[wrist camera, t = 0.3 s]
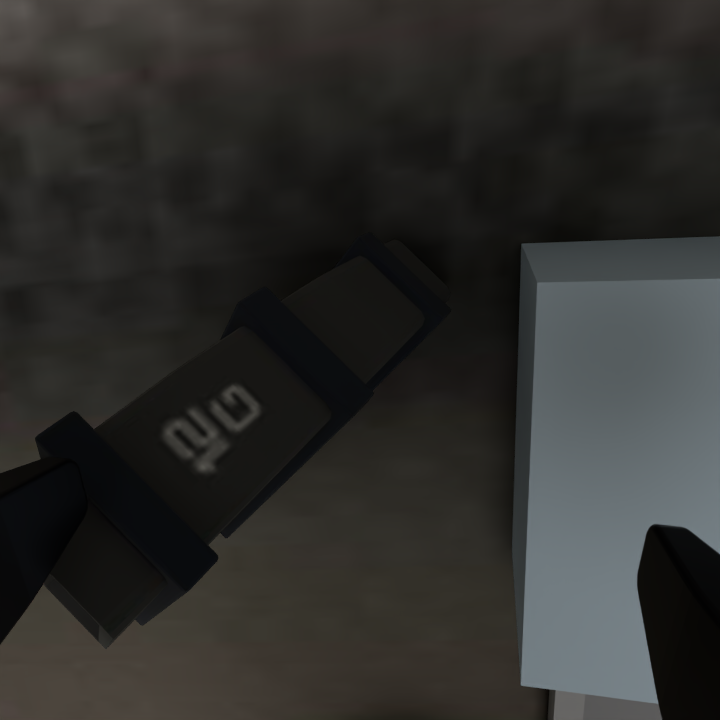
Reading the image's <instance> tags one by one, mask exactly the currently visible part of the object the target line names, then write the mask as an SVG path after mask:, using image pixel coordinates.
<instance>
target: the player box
mask: <svg viewBox="0 0 720 720" xmlns="http://www.w3.org/2000/svg"><path fill="white" fill-rule="evenodd" d="M653 524H662V525H671V526H680V527H684V528H687V529H688V530H690V531H691V532H693V533H694V534H695V535H696V536H698V537H699V538H700V539H702V540H703V541H704V542H705V543H707V544H708V545H709V546H710V547H712V548H713V549H714V550H716V551H717V552H718V553H719V554H720V236H716V237H689V238H661V239H634V240H607V241H579V242H552V243H524V244H521V273H520V305H519V338H518V371H517V404H516V437H515V469H514V502H513V535H512V559H513V574H514V589H515V604H516V620H517V635H518V650H519V665H520V680H521V686H528V687H536V688H543V689H551V690H558V691H566V692H573V693H581V694H588V695H596V696H603V697H611V698H618V699H626V700H633V701H641V702H648V703H656V704H658V700H657V695H656V690H655V684H654V679H653V673H652V668H651V662H650V657H649V651H648V646H647V640H646V635H645V629H644V624H643V618H642V613H641V607H640V602H639V596H638V590H637V573H638V568H639V563H640V559H641V555H642V550H643V546H644V542H645V537H646V533H647V531H648V529H649V527H650V526H651V525H653Z"/></svg>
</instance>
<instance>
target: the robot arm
mask: <svg viewBox="0 0 720 720" xmlns="http://www.w3.org/2000/svg"><path fill="white" fill-rule="evenodd" d="M87 507H88V501H87V496H86V492H85V488H84V485H83V481H82V477H81V473H80V469H79V466H78V464H77V463H76V462H75V461H74V460H72V459H68V458H59V457H47V458H43V459H40V460H38V461H35V462H32V463H29V464H26V465H23V466H20V467H17V468H15V469H12V470H9V471H6V472H3V473H0V644H1V643H2V642H3V640H4V639H5V638H6V636H7V635H8V634H9V632H10V631H11V630H12V628H13V627H14V626H15V624H16V623H17V621H18V620H19V619H20V617H21V616H22V615H23V613H24V612H25V610H26V609H27V608H28V606H29V605H30V603H31V602H32V601H33V599H34V597H35V596H36V594H37V593H38V591H39V590H40V588H41V587H42V585H43V583H44V582H45V580H46V579H47V577H48V575H49V574H50V572H51V571H52V569H53V567H54V566H55V564H56V562H57V561H58V559H59V558H60V556H61V554H62V553H63V551H64V550H65V548H66V546H67V545H68V543H69V541H70V540H71V538H72V537H73V535H74V533H75V532H76V530H77V529H78V527H79V525H80V524H81V522H82V521H83V519H84V517H85V515H86V512H87ZM637 590H638V596H639V602H640V607H641V613H642V618H643V624H644V629H645V635H646V640H647V646H648V651H649V657H650V662H651V668H652V673H653V679H654V684H655V690H656V695H657V700H658V704H659V709H660V713H661V717H662V720H720V554H719V553H718V552H717V551H716V550H714V549H713V548H712V547H710V546H709V545H708V544H707V543H705V542H704V541H703V540H702V539H700V538H699V537H698V536H696V535H695V534H694V533H693V532H691V531H690V530H688V529H687V528H684V527H680V526H671V525H662V524H653V525H651V526H650V527H649V529H648V531H647V533H646V537H645V542H644V546H643V550H642V555H641V559H640V563H639V568H638V573H637Z"/></svg>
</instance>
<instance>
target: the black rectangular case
mask: <svg viewBox="0 0 720 720" xmlns="http://www.w3.org/2000/svg"><path fill="white" fill-rule="evenodd" d="M450 294H451V293H450V291H449V288H448V286H446V285H445V284H444V283H443V282H442V281H441V280H440V279H439V278H438V277H437V276H436V275H435V274H434V273H433V272H432V271H431V270H430V269H429V268H428V267H427V266H426V265H425V264H424V263H423V262H422V261H420V260H419V259H418V258H417V257H416V256H415V255H414V254H413V253H412V252H411V251H410V250H409V249H408V248H407V247H406V246H405V245H404V244H403V243H402V242H401V241H398V240H396V239H393V240H391V241H389V242H387V243H385V244H383V243H382V242H381V241H380V240H378V239H377V238H376V237H375V236H374V235H373V234H372V233H371V232H369V233H366V234H364V235H361V236H359V237H357V238H356V240H355V241H354V242H353V244H352V245H351V246H350V248H349V249H348V250H347V252H346V253H345V254H344V256H343V257H342V258H341V260H340V261H339V262H338V264H337V265H336V266H335V268H334V269H333V270H331V271H329V272H327V273H325V274H323V275H322V276H320V277H318V278H316V279H315V280H313V281H311V282H310V283H308V284H307V285H305V286H303V287H302V288H300V289H299V290H297V291H296V292H294V293H292V294H291V295H289V296H288V297H286V298H284V299H283V300H281V301H280V300H279V299H278V298H277V297H276V296H275V295H274V294H273V293H272V292H271V291H270V290H269V289H268V288H267V287H263V288H261V289H259V290H258V291H256V292H254V293H253V294H251V295H250V296H248V297H246V298H245V299H243V300H241V301H240V302H238V304H237V306H236V308H235V310H234V312H233V314H232V316H231V319H230V321H229V323H228V325H227V327H226V329H225V331H224V333H223V335H222V337H221V339H220V341H219V342H217V343H216V344H214V345H212V346H211V347H209V348H208V349H206V350H205V351H203V352H202V353H200V354H199V355H197V356H196V357H194V358H193V359H191V360H190V361H188V362H187V363H185V364H184V365H182V366H181V367H179V368H177V369H176V370H174V371H173V372H171V373H170V374H169V375H167V376H166V377H165V378H163V379H162V380H160V381H159V382H158V383H156V384H155V385H154V386H152V387H151V388H150V389H148V390H147V391H146V392H144V393H143V394H141V395H140V396H139V397H137V398H136V399H135V400H133V401H132V402H131V403H129V404H128V405H126V406H125V407H124V408H122V409H121V410H120V411H118V412H117V413H116V414H114V415H113V416H111V417H110V418H109V419H107V420H106V421H105V422H103V423H102V424H101V425H99V426H98V427H96V428H95V429H93V428H92V427H91V426H90V425H89V424H88V423H87V422H86V421H85V420H84V419H83V418H82V417H81V416H80V415H79V414H78V413H77V412H74V411H73V412H70V413H69V414H67V415H66V416H65V417H63V418H62V419H60V420H59V421H57V422H56V423H54V424H53V425H52V426H50V427H49V428H47V429H46V430H44V431H43V432H42V433H40V434H39V435H37V436H36V438H35V440H36V444H37V447H38V451H39V454H40V458H41V459H43V458H47V457H59V458H68V459H72V460H74V461H75V462H76V463H77V464H78V466H79V469H80V473H81V477H82V481H83V485H84V488H85V492H86V496H87V501H88V507H87V512H86V515H85V517H84V519H83V521H82V522H81V524H80V525H79V527H78V529H77V530H76V532H75V533H74V535H73V537H72V538H71V540H70V541H69V543H68V545H67V546H66V548H65V550H64V551H63V553H62V554H61V556H60V558H59V559H58V561H57V562H56V564H55V566H54V567H53V569H52V571H51V572H50V574H49V575H48V577H47V579H46V580H45V582H44V583H43V585H44V586H45V587H46V588H47V589H48V590H49V591H50V592H51V593H52V594H53V595H54V596H55V597H56V598H57V599H58V600H59V601H60V602H61V603H62V604H63V605H64V606H65V607H66V608H67V610H68V611H69V612H70V613H71V614H72V615H73V616H74V617H75V618H76V619H77V620H78V621H79V622H80V623H81V624H82V625H83V626H84V627H85V628H86V629H87V630H88V631H89V632H90V633H91V634H92V635H93V636H94V637H95V639H96V640H97V641H98V642H99V643H100V644H101V645H102V646H103V647H104V648H105V649H107V648H108V647H109V646H110V645H111V643H112V642H113V641H114V640H115V639H116V638H117V637H118V636H119V635H120V634H121V633H122V632H123V631H124V630H125V629H126V628H127V627H128V626H129V625H130V624H131V623H132V622H133V621H134V620H136V621H137V622H138V623H139V624H140V625H144V624H146V623H147V622H148V621H150V620H151V619H152V618H154V617H155V616H156V615H158V614H159V613H160V612H162V611H163V610H164V609H166V608H167V607H168V606H169V605H171V604H172V603H173V602H175V601H176V600H177V599H179V598H180V597H181V596H183V595H184V594H185V593H187V592H188V591H189V590H190V589H191V588H192V587H193V586H194V585H195V584H196V583H197V582H198V581H199V580H200V579H201V578H202V577H203V575H204V574H205V573H206V572H207V571H208V570H209V569H210V568H211V567H212V566H213V565H214V564H215V563H216V562H217V560H218V555H217V554H216V553H215V552H214V551H213V550H212V549H211V548H210V547H209V546H208V545H209V544H210V543H211V542H212V541H213V540H214V539H215V537H216V536H217V535H218V534H219V533H221V534H222V535H223V536H224V537H225V538H228V537H229V536H230V535H231V534H232V533H233V532H234V531H235V530H236V529H237V528H238V527H239V526H240V525H241V524H243V523H244V522H245V521H246V520H247V519H248V518H249V517H250V516H251V515H252V514H253V513H254V512H255V511H256V510H257V509H258V508H259V507H260V506H261V505H262V504H263V503H264V502H265V501H266V500H267V499H268V498H269V497H270V496H272V495H273V494H274V493H275V492H276V491H277V490H278V489H279V488H280V487H281V486H282V485H283V484H284V483H285V482H286V481H287V480H288V479H289V478H290V477H291V476H292V475H293V474H294V473H295V472H296V471H297V470H298V469H300V468H301V467H302V466H303V465H304V464H305V463H306V462H307V461H308V460H309V459H310V458H311V457H312V456H313V455H314V454H315V453H316V452H317V451H318V450H319V449H320V448H321V447H322V446H323V445H324V444H325V443H326V442H327V441H329V440H330V439H331V438H332V437H333V436H334V435H335V434H336V433H337V432H338V431H339V430H340V429H341V428H342V427H343V426H344V425H345V424H346V423H347V422H348V421H349V420H350V419H351V418H352V417H353V416H354V415H355V414H356V413H357V412H358V411H359V410H360V409H361V408H362V407H363V406H364V405H365V404H366V403H367V402H368V400H369V399H370V398H371V397H372V396H373V390H374V389H375V388H376V387H377V386H378V385H379V384H380V383H381V382H382V381H383V380H384V379H385V378H386V377H387V376H388V375H389V374H390V373H391V372H392V371H393V370H394V369H395V368H396V367H397V366H398V365H399V364H400V363H401V362H402V361H403V360H404V359H405V358H406V357H407V356H408V355H409V354H410V353H411V352H412V351H413V350H414V349H415V348H416V347H417V346H418V345H419V344H420V343H421V342H422V341H423V340H424V339H425V338H426V337H427V336H428V335H429V334H430V333H431V332H432V331H433V330H434V329H435V328H436V327H437V326H438V325H439V324H440V323H441V322H442V321H443V320H444V318H445V317H446V316H447V315H448V314H449V313H450V312H451V309H450V308H449V307H448V306H447V305H446V304H445V302H446V301H447V300H448V299H449V296H450Z"/></svg>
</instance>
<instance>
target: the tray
mask: <svg viewBox="0 0 720 720" xmlns="http://www.w3.org/2000/svg"><path fill="white" fill-rule="evenodd" d="M548 720H662V717H661V713H660V709H659V704H656V703H648V702H641V701H633V700H626V699H618V698H611V697H603V696H596V695H588V694H581V693H573V692H566V691H558V690H551V689H550V691H549V706H548Z"/></svg>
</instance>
